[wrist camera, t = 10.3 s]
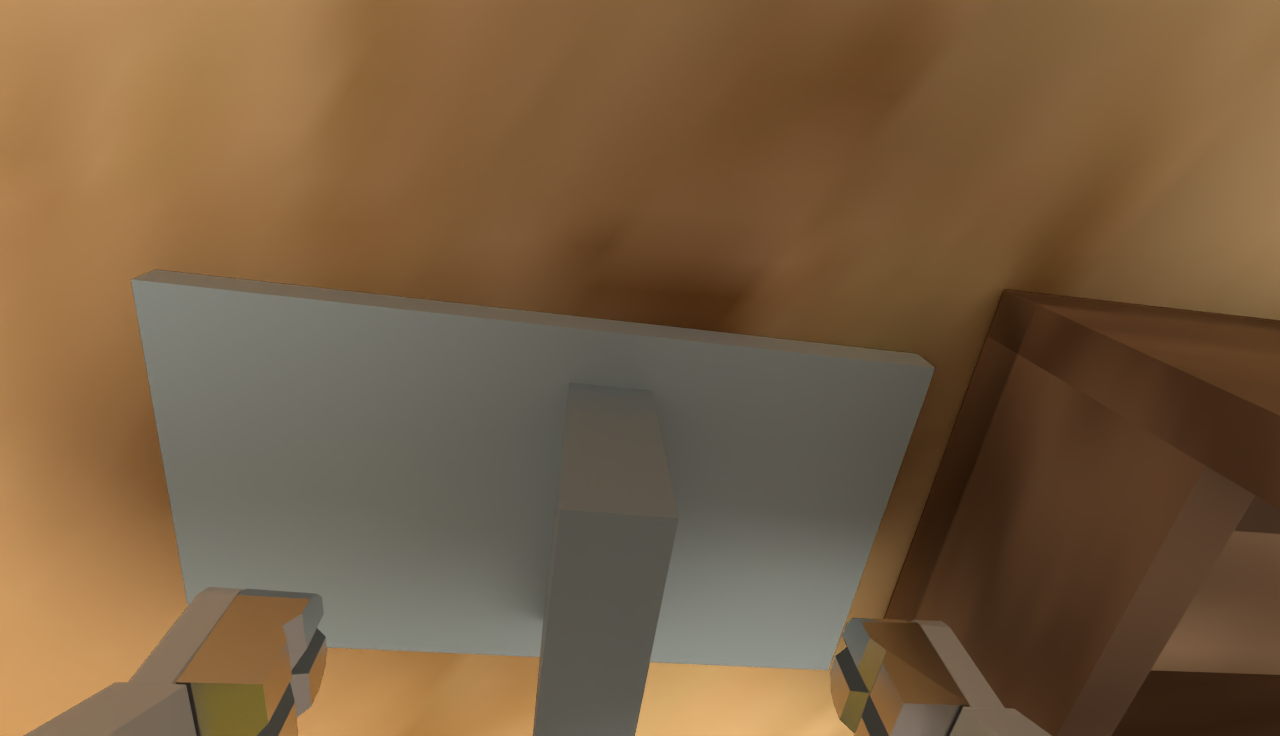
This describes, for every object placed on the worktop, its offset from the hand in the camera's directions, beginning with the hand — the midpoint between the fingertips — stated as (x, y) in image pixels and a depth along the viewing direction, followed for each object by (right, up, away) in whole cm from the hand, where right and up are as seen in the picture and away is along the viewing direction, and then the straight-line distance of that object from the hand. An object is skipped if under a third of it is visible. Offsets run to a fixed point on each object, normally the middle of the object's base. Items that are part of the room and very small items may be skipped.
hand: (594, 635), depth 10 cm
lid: (-1, +2, +4) cm, 5 cm away
